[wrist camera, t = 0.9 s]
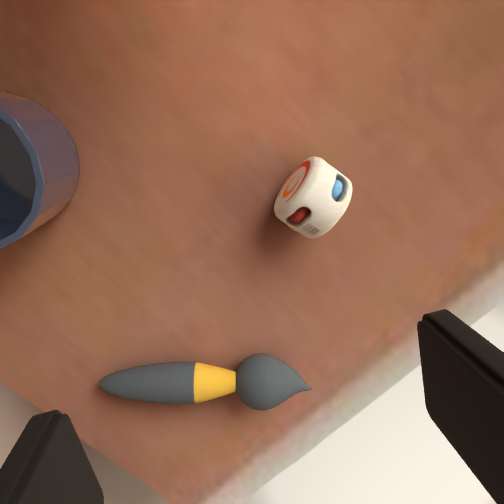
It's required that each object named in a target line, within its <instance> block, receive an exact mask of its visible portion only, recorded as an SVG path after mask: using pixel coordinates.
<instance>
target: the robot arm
mask: <svg viewBox="0 0 504 504" xmlns="http://www.w3.org/2000/svg"><path fill="white" fill-rule="evenodd" d="M417 330H418V339H419V348H420V357H421V366H422V375H423V385H424V393H425V403H426V408H427V411H428V413H429V415H430V417H431V419H432V420H433V421H434V423H435V424H436V425H437V427H438V428H439V429H440V430H441V432H442V433H443V434H444V436H445V437H446V438H447V440H448V441H449V442H450V443H451V445H452V446H453V447H454V449H455V450H456V451H457V452H458V454H459V455H460V456H461V458H462V459H463V460H464V461H465V463H466V464H467V466H468V467H469V468H470V469H471V471H472V472H473V473H474V475H475V476H476V477H477V479H478V480H479V481H480V482H481V484H482V485H483V486H484V488H485V489H486V490H487V492H488V493H489V494H490V495H491V497H492V498H493V499H494V501H495V502H496V503H497V504H504V352H502V351H501V350H499V349H498V348H497V347H496V346H494V345H493V344H492V343H490V342H489V341H488V340H486V339H485V338H484V337H482V336H481V335H480V334H478V333H477V332H476V331H475V330H473V329H472V328H471V327H469V326H468V325H467V324H465V323H464V322H463V321H461V320H460V319H459V318H457V317H456V316H455V315H454V314H452V313H451V312H450V311H448V310H446V309H444V310H440V311H436V312H432V313H428V314H424V315H423V318H422V321H420V322H418V324H417ZM0 504H104V496H103V492H102V489H101V487H100V485H99V482H98V480H97V478H96V476H95V473H94V471H93V469H92V467H91V465H90V462H89V460H88V458H87V456H86V453H85V451H84V449H83V447H82V444H81V442H80V440H79V438H78V435H77V433H76V431H75V429H74V427H73V424H72V422H71V420H70V418H69V416H68V415H67V414H62V413H61V412H60V411H59V410H53V411H50V412H46V413H42V414H38V415H35V416H33V417H32V418H31V419H30V420H29V422H28V424H27V425H26V427H25V429H24V430H23V432H22V434H21V435H20V437H19V439H18V440H17V442H16V444H15V446H14V447H13V449H12V450H11V452H10V454H9V455H8V457H7V459H6V460H5V462H4V464H3V466H2V467H1V469H0Z"/></svg>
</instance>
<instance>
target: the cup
mask: <svg viewBox="0 0 504 504" xmlns="http://www.w3.org/2000/svg"><path fill="white" fill-rule="evenodd" d="M78 179H79V159H78V154H77V150H76V147H75V145H74V142H73V140H72V138H71V136H70V134H69V133H68V131H67V130H66V128H65V127H64V125H63V124H62V123H61V122H60V121H59V120H58V118H57V117H56V116H54V115H53V114H52V113H51V112H50V111H49V110H47V109H46V108H44V107H43V106H42V105H40V104H38V103H36V102H35V101H33V100H30V99H28V98H25V97H22V96H19V95H15V94H11V93H8V92H4V91H0V249H2V248H4V247H6V246H8V245H9V244H11V243H13V242H15V241H17V240H19V239H21V238H22V237H24V236H25V235H27V234H28V233H30V232H31V231H33V230H35V229H36V228H38V227H39V226H41V225H42V224H44V223H45V222H47V221H48V220H50V219H51V218H53V217H54V216H56V215H57V214H59V213H60V211H61V210H62V209H63V208H64V207H65V206H66V205H67V204H68V202H69V201H70V199H71V198H72V196H73V194H74V192H75V190H76V187H77V184H78Z"/></svg>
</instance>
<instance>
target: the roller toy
mask: <svg viewBox="0 0 504 504" xmlns="http://www.w3.org/2000/svg"><path fill="white" fill-rule="evenodd" d="M351 196H352V184H351V182H350V180H349V179H348V178H346V177H345V176H344V175H343V174H341V173H340V172H339V171H337V170H336V169H335V168H333V167H332V166H331V165H329V164H328V163H327V162H325V161H324V159H322V158H319V157H310V158H308V159H306V160H305V161H303V162H302V163H301V164H300V165H299V166H298V167H297V168H296V169H295V170H294V171H293V172H292V174H291V175H290V176H289V177H288V179H287V180H286V182H285V183H284V185H283V186H282V188H281V190H280V192H279V194H278V196H277V198H276V201H275V204H274V213H275V215H276V217H277V218H278V219H280V220H281V221H283V222H284V223H285V224H287V225H288V227H289V228H290V229H291V230H293V231H295V230H296V231H297V232H299V233H301V234H302V235H304V236H305V237H307V238H317V237H320V236H322V235H323V234H325V233H326V232H328V231H329V230H330V229H331V228H332V227H333V226H334V225H335V224H336V223H337V222H338V220H339V219H340V218H341V216H342V215H343V213H344V212H345V210H346V208H347V206H348V204H349V202H350V199H351Z"/></svg>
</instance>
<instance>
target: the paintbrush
mask: <svg viewBox="0 0 504 504" xmlns="http://www.w3.org/2000/svg"><path fill="white" fill-rule="evenodd" d="M99 387H100V388H101V389H102V390H103V391H105V392H107V393H109V394H112V395H115V396H118V397H122V398H126V399H131V400H137V401H144V402H152V403H166V404H190V403H198V402H202V401H206V400H210V399H214V398H217V397H221V396H224V395H227V394H230V393H233V392H236V393H237V395H238V397H239V398H240V399H241V401H242V402H243V403H244V404H246V405H247V406H249V407H250V408H252V409H256V410H268V409H271V408H273V407H275V406H277V405H279V404H281V403H282V402H284V401H285V400H287V399H288V398H290V397H291V396H293V395H295V394H296V393H299V392H302V391H307V390H312V388H310V387H309V386H308V385H307V383H306V382H305V381H304V380H303V378H302V377H301V376H300V375H299V374H298V373H297V372H296V371H295V370H294V369H293V368H292V367H291V366H289V365H288V364H286V363H285V362H283V361H282V360H280V359H278V358H276V357H274V356H271V355H268V354H255V355H252V356H250V357H248V358H247V359H245V360H244V361H243V362H242V363H241V364H240V366H239V367H238V369H237V371H236V372H234V371H231V370H228V369H224V368H221V367H216V366H212V365H208V364H203V363H198V362H171V363H159V364H152V365H145V366H139V367H134V368H130V369H125V370H122V371H118V372H115V373H113V374H110V375H108V376H106V377H104V378H103V379H102V380H101V381H100V382H99Z"/></svg>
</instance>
